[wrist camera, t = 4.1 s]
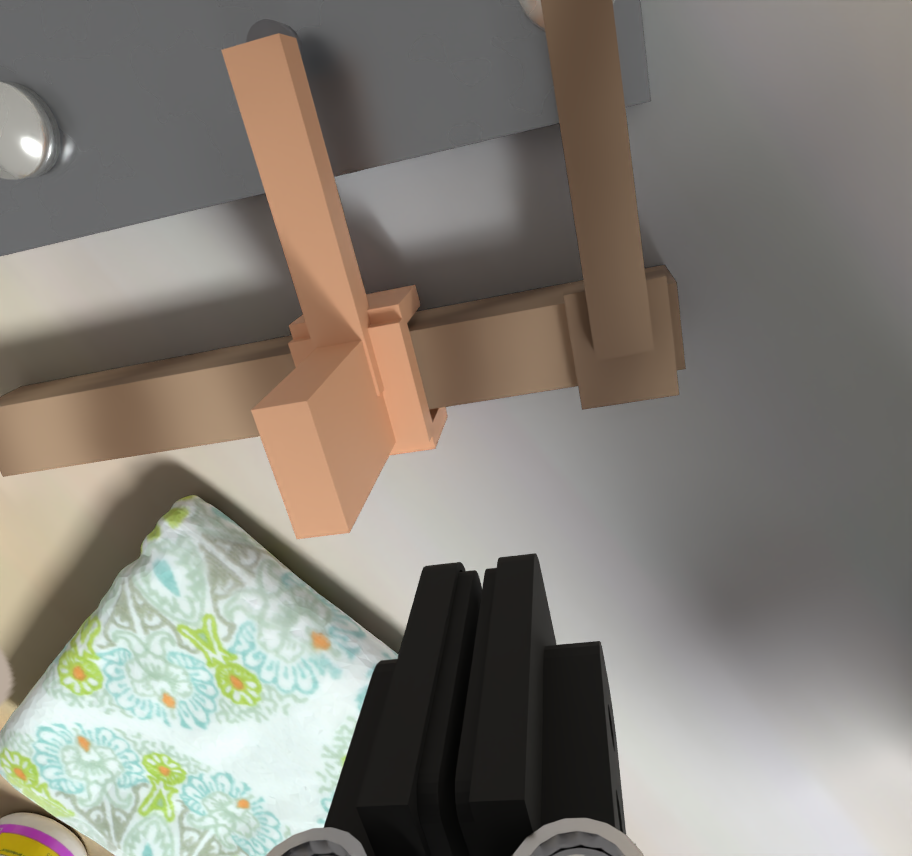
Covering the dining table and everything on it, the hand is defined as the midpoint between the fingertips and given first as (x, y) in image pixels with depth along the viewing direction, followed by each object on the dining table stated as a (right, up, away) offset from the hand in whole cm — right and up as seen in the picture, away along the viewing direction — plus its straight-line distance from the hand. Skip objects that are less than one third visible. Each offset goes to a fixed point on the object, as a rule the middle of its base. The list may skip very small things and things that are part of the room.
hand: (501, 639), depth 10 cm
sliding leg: (-5, +10, +15) cm, 19 cm away
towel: (-12, -12, +28) cm, 33 cm away
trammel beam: (-7, +10, +17) cm, 21 cm away
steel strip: (-9, +16, +14) cm, 23 cm away
